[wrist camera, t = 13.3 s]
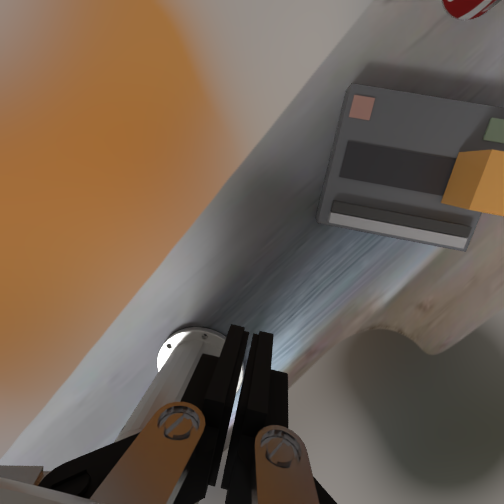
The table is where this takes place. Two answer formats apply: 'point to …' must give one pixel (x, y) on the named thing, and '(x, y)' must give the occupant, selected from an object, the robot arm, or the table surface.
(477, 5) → the soda can
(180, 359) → the robot arm
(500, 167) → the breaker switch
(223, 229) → the table surface
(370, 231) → the panel
